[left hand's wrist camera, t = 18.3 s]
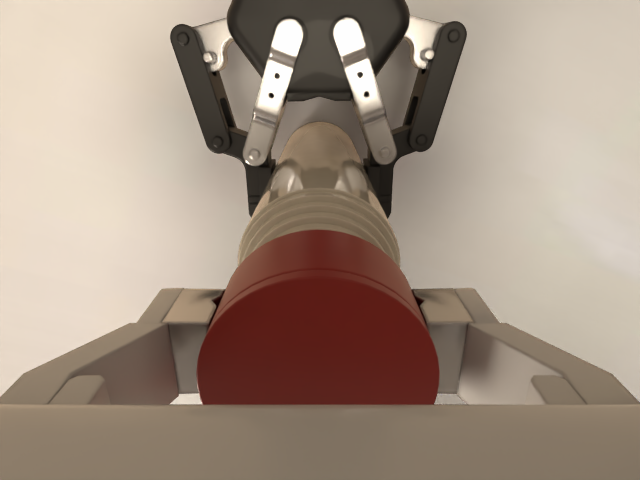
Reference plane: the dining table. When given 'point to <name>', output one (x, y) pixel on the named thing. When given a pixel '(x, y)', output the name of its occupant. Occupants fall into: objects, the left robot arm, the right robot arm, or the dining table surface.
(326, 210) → the bottle
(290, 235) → the cap
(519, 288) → the dining table surface
